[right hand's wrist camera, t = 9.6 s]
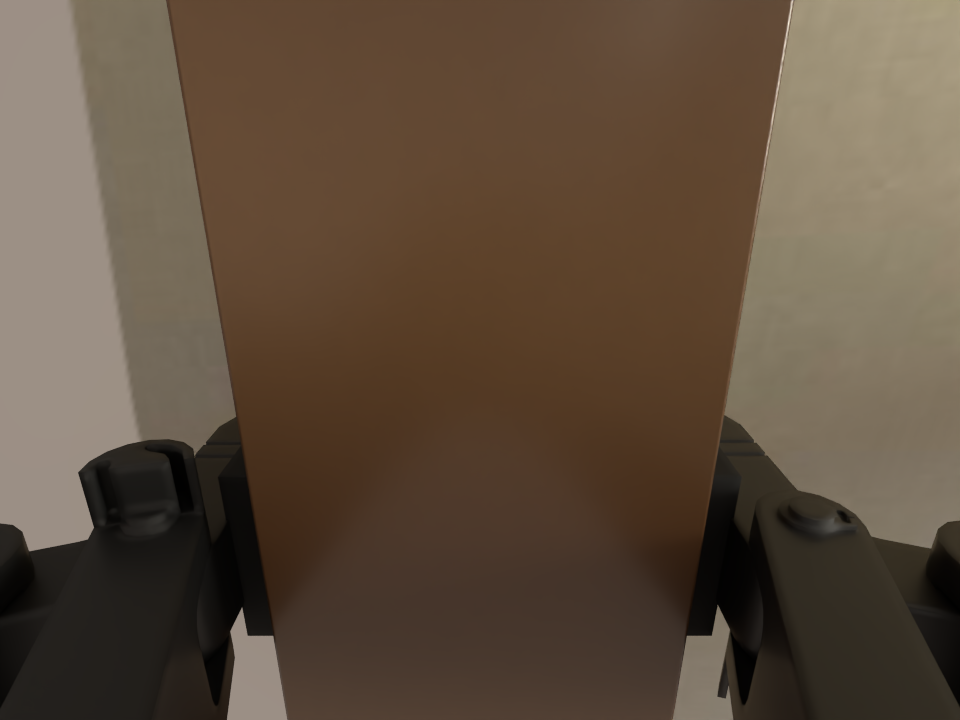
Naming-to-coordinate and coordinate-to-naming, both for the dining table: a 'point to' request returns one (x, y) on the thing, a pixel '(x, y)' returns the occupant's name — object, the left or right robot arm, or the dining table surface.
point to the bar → (480, 331)
